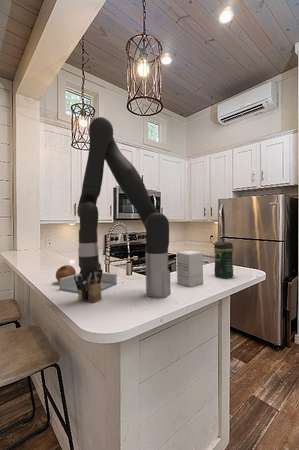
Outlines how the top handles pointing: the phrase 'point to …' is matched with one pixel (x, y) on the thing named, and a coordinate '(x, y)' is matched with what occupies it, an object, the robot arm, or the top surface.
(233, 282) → the top surface
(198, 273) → the supplement box
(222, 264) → the coffee jar
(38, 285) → the top surface
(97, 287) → the walnut brick
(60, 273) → the onion
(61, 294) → the top surface
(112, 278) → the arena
